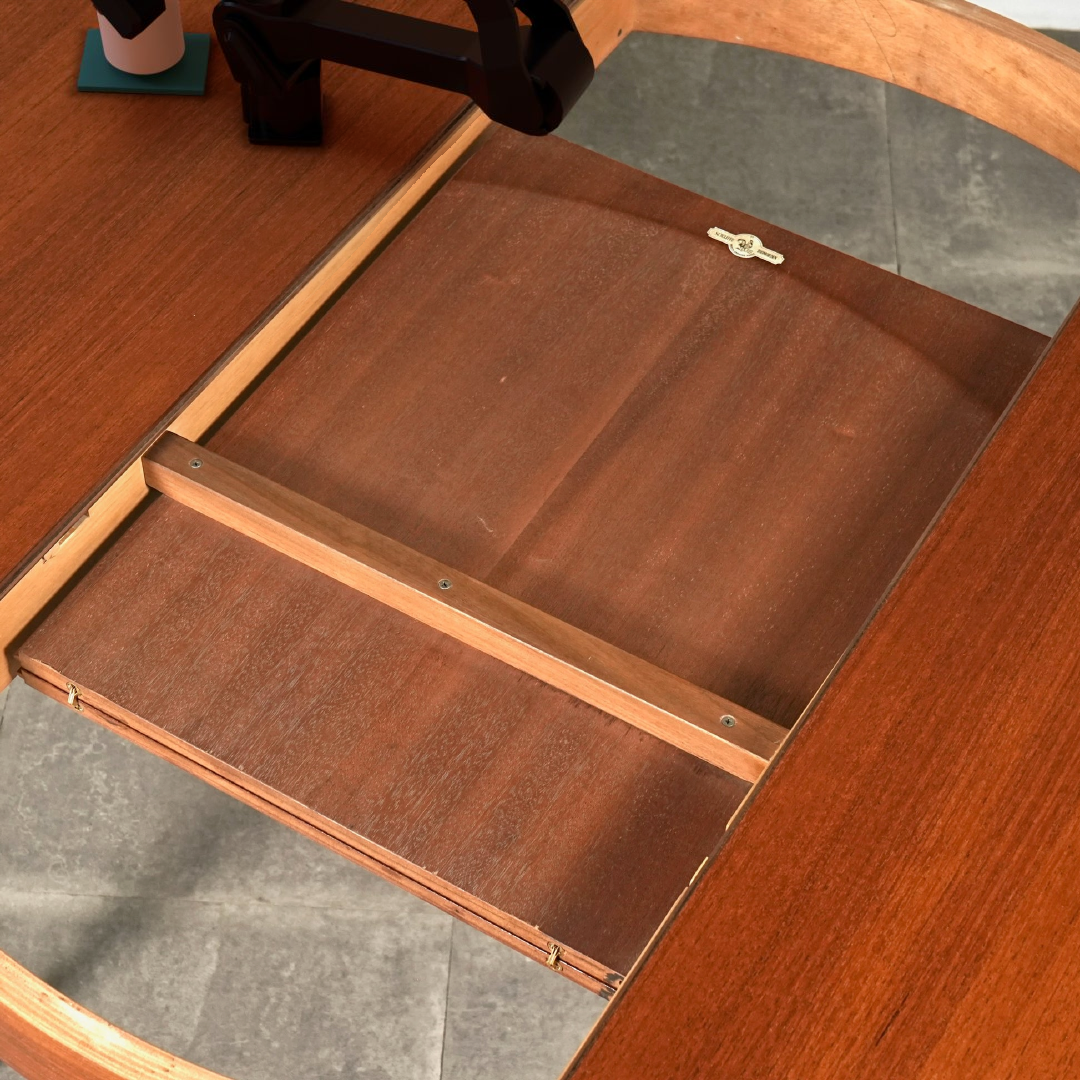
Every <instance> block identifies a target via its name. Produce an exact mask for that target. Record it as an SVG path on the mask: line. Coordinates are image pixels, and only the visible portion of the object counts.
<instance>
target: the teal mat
mask: <svg viewBox="0 0 1080 1080" xmlns="http://www.w3.org/2000/svg"><path fill="white" fill-rule="evenodd" d="M211 36H212V35H211V33H200V32H199V33H198V32H197V33H196V32H183V37H184V44H185V51H184V54H183V56H182V58H181V59H180V60H179V61H178V62H177V63H176V64H175V65H173V66H172V67H170V68H168V69H166V70H164V71H162V72H159V73H155V74H149V75H139V74H133V73H129V72H125V71H123V70H120V69H118V68H116V67H115V66H113V65H112V64H111V63H110V62H109V61H108V60H107V58H106V56H105V53H104V48H103V43H102V37H101V32H100V28H88V29H87V34H86V37H85V43H84V49H83V53H82V57H81V58H82V59H81V63H80V68H79V74H78V79H77V85H76V87H77V91H78V92H92V93H93V92H96V93H118V94H119V93H122V94H147V95H148V94H151V95H174V96H175V95H177V96H178V95H179V96H200V97H201V96H202V97H203V96H205V90H206V83H207V75H208V67H209V58H210V50H211V42H212V37H211Z"/></svg>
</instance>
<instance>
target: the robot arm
mask: <svg viewBox="0 0 1080 1080" xmlns="http://www.w3.org/2000/svg"><path fill="white" fill-rule="evenodd" d="M90 2H91V3H92V6H93V8H94V9H95V10H96V12H97V11H98V12H99V14H101V15H103V16H104V17H105V18H106V19H107V20H108V21H109V23H110V24H111V25H112V26H113V27H114V28H115V30H116V31H117V32H118V33H119V34H120V36H121V37H122V38H125V39H129V40H132V39H133V38H135V37H136V36H138V35H139V34H140V33H142V32H143V31H144V30H145V29H146V28H147V27H148V26H149V25H150V24H152V23H153V22H154V21H155V20H156V19H157V18H158V17H159V16H160V15H161V14H162V13H163V12H164V11H165V10H166V5H165V0H90ZM462 2H464V3H466V5H467V7H468V9H469V11H470V13H471V16H472V17H473V19H474V21H475V24H476V26H477V31H476V30H475V31H474V30H470V29H465V28H462V27H457V26H452V25H448V24H445V23H440V22H436V21H432V20H427V19H423V18H419V17H415V16H411V15H406V14H401V13H397V12H393V11H390V10H389V11H388V10H385V9H380V8H376V7H373V6H368V5H364V4H361V3H360V4H359V3H355V2H351V1H346V0H220V1H219V2H218V3H217V4H216V5H215V6H214V7H213V10H212V13H211V20H212V26H213V29H214V31H215V36H216V40H217V42H218V44H219V46H220V49H221V51H222V53H223V57H224V59H225V62H226V63H227V65H228V68H229V71H230V72H231V75H232V77H233V80H234V81H235V82H236V83H238V84H239V86H240V87H239V88H240V97H241V99H240V100H241V109H242V110H241V111H242V121H243V122H244V123H245V124H246V125H248V130H247V140H248V142H249V143H251V144H262V145H263V144H264V145H265V144H266V145H267V144H268V145H293V146H294V145H295V146H321V145H323V144H324V141H325V139H324V138H325V134H324V133H325V122H326V121H325V119H326V101H327V99H326V98H327V97H326V95H325V94H324V83H323V81H324V79H323V61H327V62H331V63H334V64H339V65H343V66H347V67H350V68H355V69H359V70H363V71H368V72H371V73H375V74H379V75H384V76H386V77H387V76H388V77H392V78H395V79H399V80H403V81H407V82H411V83H414V84H415V83H416V84H419V85H424V86H427V87H430V88H434V89H439V90H443V91H447V92H451V93H455V94H459V95H464V96H466V97H469V98H470V99H471V101H472V102H473V103H474V104H475V105H476V106H477V108H479V109H480V111H482V112H483V113H484V114H485V116H486V117H487V118H488V119H489V120H490V121H493V122H495V123H497V124H500V125H502V126H505V127H506V128H509V129H511V130H514V131H516V132H519V133H521V134H524V135H527V136H530V137H537V138H541V137H547V136H549V134H551V133H553V132H554V131H555V130H557V129H558V128H559V127H560V125H561V124H562V123H563V121H564V120H565V119H566V117H567V116H568V114H570V112H571V111H572V110H573V108H574V107H575V106H576V104H577V103H578V101H579V100H580V99H581V97H582V96H583V95H584V93H585V92H586V91H587V89H588V88H589V87H590V85H591V84H592V82H593V80H594V78H595V71H596V68H595V62H594V58H593V56H592V54H591V52H590V50H589V48H588V47H587V46H586V45H585V43H584V40H583V38H582V36H581V33H580V31H579V29H578V27H577V25H576V23H575V22H576V21H575V20H574V18H573V16H572V13H571V11H570V9H569V7H568V5H567V4H566V3H564V1H562V0H462ZM516 8H517V10H518V11H519V12H521V13H522V14H523V15H524V16H525V17H527V18H528V19H529V21H530V24H523V25H520V23H519V22H520V21H519V17H518V12H517V11H516Z"/></svg>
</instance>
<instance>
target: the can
mask: <svg viewBox="0 0 1080 1080" xmlns="http://www.w3.org/2000/svg"><path fill="white" fill-rule="evenodd" d="M165 5H166V10H165V11H164V12H163V13H162V14H161V15H160V16H159V17H158V18H157V19H156V20H155V21H154V22H153V23H152V24H150V25H149V26H148V27H147V28H146V29H145V30H144V31H143V32H142V33H140V34H139V35H138V36H136V37H135V38H133V39H132V40H129V39H125V38H122V37H121V36H120V34H119V33H118V32H117V31H116V30H115V28H114V27H113V26H112V25H111V24H110V23H109V21H108V20H107V19H106V18H105V17H104V16H103V15H101V14H99V12H98V11H97V10H96V15H97V20H98V25H99V29H100V32H101V37H102V43H103V48H104V53H105V56H106V58H107V60H108V61H109V62H110V63H111V64H112V65H113V66H115V67H116V68H118V69H120V70H123V71H125V72H129V73H133V74H139V75H149V74H155V73H159V72H162V71H164V70H166V69H168V68H170V67H172V66H173V65H175V64H176V63H177V62H178V61H179V60H180V59H181V58H182V56H183V54H184V51H185V44H184V37H183V33H184V30H183V22H182V15H181V8H180V1H179V0H165Z"/></svg>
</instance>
